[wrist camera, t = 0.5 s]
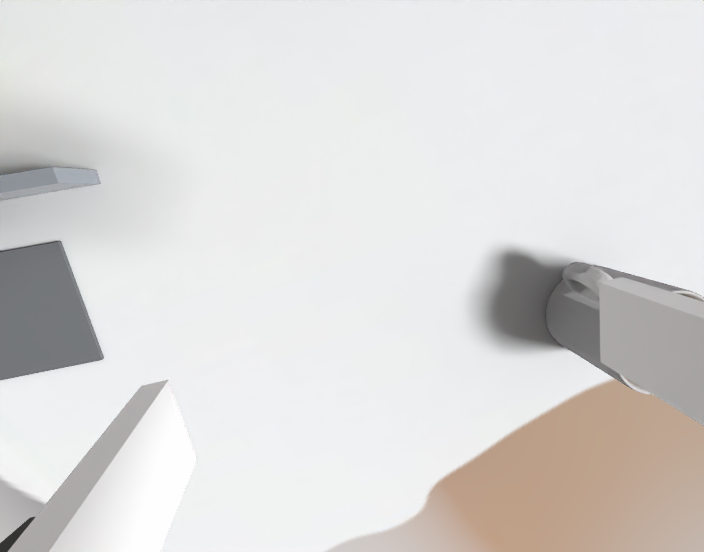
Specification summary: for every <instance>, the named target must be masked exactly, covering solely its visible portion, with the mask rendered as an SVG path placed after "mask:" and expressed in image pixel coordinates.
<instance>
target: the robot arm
mask: <svg viewBox="0 0 704 552" xmlns="http://www.w3.org/2000/svg"><path fill="white" fill-rule="evenodd" d="M599 306H600V362H601V363H603V364H604V365H606V366H608V367H609V368H611V369H613V370H614V371H616V372H617V373H619V374H621V375H622V376H624V377H625V378H627V379H629V380H630V381H632V382H634V383H635V384H637V385H638V386H640V387H642V388H643V389H645V390H647V391H648V392H650V393H651V394H653V395H655V396H656V397H658V398H660V399H661V400H663V401H664V402H666V403H668V404H669V405H671V406H673V407H674V408H676V409H677V410H679V411H681V412H682V413H684V414H685V415H687V416H689V417H690V418H692V419H694V420H695V421H697V422H698V423H700V424H702V425H703V426H704V302H702V301H699V300H696V299H693V298H689V297H686V296H683V295H680V294H676V293H673V292H670V291H666V290H663V289H660V288H657V287H653V286H650V285H647V284H643V283H640V282H637V281H634V280H630V279H627V278H624V277H620V278H616V279H612V280H607V281H603V282H599ZM196 461H197V457H196V455H195V452H194V449H193V446H192V443H191V441H190V438H189V435H188V432H187V430H186V427H185V424H184V421H183V418H182V416H181V413H180V410H179V407H178V404H177V402H176V399H175V396H174V393H173V391H172V388H171V385H170V382H169V380H166V381H161V382H157V383H152V384H148V385H143V386H141V387H140V388H139V390H138V391H137V392H136V393H135V395H134V396H133V397H132V398H131V400H130V401H129V402H128V403H127V404H126V406H125V407H124V408H123V409H122V411H121V412H120V413H119V414H118V416H117V417H116V418H115V419H114V421H113V422H112V423H111V424H110V426H109V427H108V428H107V429H106V430H105V432H104V433H103V434H102V435H101V437H100V438H99V439H98V440H97V442H96V443H95V444H94V445H93V447H92V448H91V449H90V450H89V452H88V453H87V454H86V455H85V456H84V458H83V459H82V460H81V461H80V463H79V464H78V465H77V466H76V468H75V469H74V470H73V471H72V473H71V474H70V475H69V476H68V478H67V479H66V480H65V481H64V482H63V484H62V485H61V486H60V487H59V489H58V490H57V491H56V492H55V494H54V495H53V496H52V497H51V499H50V500H49V501H48V502H47V503H46V505H45V506H44V507H43V508H42V510H41V511H40V512H39V513H38V515H37V516H36V517H32V518H29V519H28V520H27V521H26V522H25V523H23V524H22V525H21V526H20V527H19V528H18V529H16V530H15V531H14V532H13V533H12V534H11V535H9V536H8V537H7V538H6V539H5V540H4V541H2V542H1V543H0V552H161V549H162V547H163V544H164V542H165V539H166V537H167V534H168V532H169V529H170V527H171V524H172V522H173V519H174V516H175V514H176V511H177V509H178V506H179V504H180V501H181V499H182V496H183V494H184V491H185V489H186V486H187V484H188V481H189V479H190V476H191V473H192V471H193V468H194V466H195V463H196Z"/></svg>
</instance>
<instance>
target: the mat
mask: <svg viewBox="0 0 704 552" xmlns="http://www.w3.org/2000/svg"><path fill="white" fill-rule="evenodd" d="M102 359H104V356H103V354H102V351H101V348H100V346H99V343H98V340H97V338H96V335H95V332H94V329H93V327H92V324H91V321H90V319H89V316H88V313H87V310H86V308H85V305H84V302H83V300H82V297H81V294H80V291H79V289H78V286H77V283H76V281H75V278H74V275H73V272H72V270H71V267H70V264H69V262H68V259H67V256H66V253H65V251H64V248H63V245H62V243H61V241H60V242H54V243H48V244H43V245H37V246H32V247H26V248H20V249H15V250H9V251H4V252H0V380H4V379H9V378H14V377H19V376H24V375H29V374H34V373H39V372H44V371H49V370H54V369H59V368H64V367H69V366H74V365H79V364H84V363H89V362H94V361H99V360H102Z"/></svg>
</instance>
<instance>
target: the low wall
mask: <svg viewBox="0 0 704 552" xmlns="http://www.w3.org/2000/svg"><path fill="white" fill-rule="evenodd" d="M95 184H101V183H100V180H99V177H98V174H97V171H96V170H89V169H76V168H62V167H48V168H42V169H36V170H30V171H24V172H18V173H12V174H6V175H0V201H1V200H6V199H12V198H18V197H24V196H30V195H36V194H42V193H48V192H54V191H60V190H66V189H71V188H77V187H83V186H89V185H95Z"/></svg>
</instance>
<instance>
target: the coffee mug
mask: <svg viewBox="0 0 704 552" xmlns="http://www.w3.org/2000/svg"><path fill="white" fill-rule="evenodd" d="M562 276H563V279H562V280H561V281H560V282H559V283H558V284H557V286H556V287H555V289H554V290H553V292H552V293H551V295H550V297H549V300H548V303H547V307H546V324H547V327H548V330H549V332H550V334H551V336H552V337H553V338H554V339H555V340H556V341H557V342H558V343H559V344H561V345H563V346H564V347H566V348H567V349H569V350H571V351H572V352H574V353H575V354H577V355H578V356H580V357H582V358H583V359H585V360H586V361H588V362H590V363H591V364H593V365H594V366H596V367H598V368H599V369H601V370H602V371H604V372H606V373H607V374H609V375H610V376H612V377H614V378H615V379H617V380H618V381H620V382H622V383H623V384H625V385H626V386H628V387H630V388H631V389H633V390H635V391H638V392H640V393H644V394H651V393H650V392H648V391H647V390H645V389H643V388H642V387H640V386H638V385H637V384H635V383H634V382H632V381H630V380H629V379H627V378H625V377H624V376H622V375H621V374H619V373H617V372H616V371H614V370H613V369H611V368H609V367H608V366H606V365H604V364H603V363H601V362H600V306H599V282H603V281H607V280H612V279H616V278H620V277H624V278H627V279H630V280H634V281H637V282H640V283H643V284H647V285H650V286H653V287H657V288H660V289H663V290H666V291H670V292H673V293H676V294H680V295H683V296H686V297H689V298H693V299H696V300H699V301H702V302H704V297H702V296H701V295H699V294H697V293H694V292H692V291H689V290H685V289H682V288H678V287H674V286H671V285H667V284H664V283H660V282H656V281H653V280H649V279H645V278H642V277H638V276H635V275H631V274H627V273H624V272H620V271H616V270H613V269H609V268H605V267H601V266H592V265H589V264H586V263H579V262H575V263H572V264H570V265H569V266H567V267H566V268H565V269H564V270H563V273H562Z"/></svg>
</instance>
